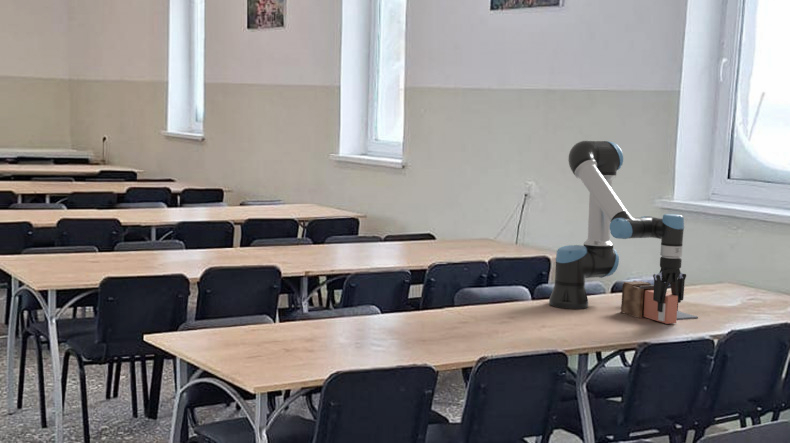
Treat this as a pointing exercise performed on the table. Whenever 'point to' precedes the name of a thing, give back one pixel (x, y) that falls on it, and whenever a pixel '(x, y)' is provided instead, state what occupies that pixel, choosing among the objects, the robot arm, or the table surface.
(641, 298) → the brown wooden slotted holder
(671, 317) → the salmon pink brick
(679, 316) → the pad
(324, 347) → the table surface
